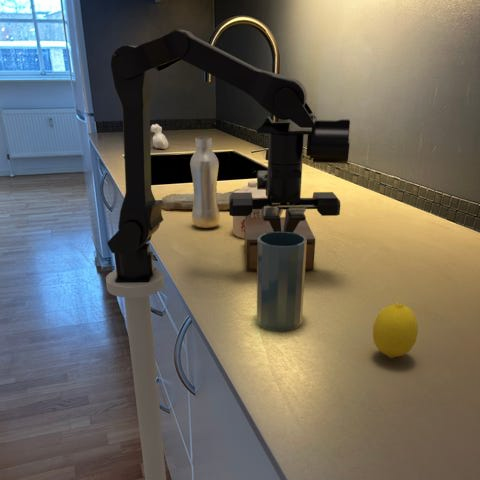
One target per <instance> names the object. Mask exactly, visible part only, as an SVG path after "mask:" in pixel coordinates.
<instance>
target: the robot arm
mask: <svg viewBox="0 0 480 480" xmlns="http://www.w3.org/2000/svg"><path fill="white" fill-rule="evenodd" d="M181 61H183V62H186V63H187V64H189V65H191V66H193V67H195V68H197V69H199V70H201V71H203V72H205V73H206V74H209V75H211V76H213V77H215V78H216V79H219V80H221V81H223V82H224V83H227V84H229V85H230V86H233V87H234V88H237V89H238V90H240V91H242V92H244V93H245V94H246V95H248V96H249V97H251V98H252V99H253V100H254V102H256V103H257V104H258V105H259V106H260V107H262V108H263V109H264V110H266V111H267V112H268V113H269V114H270V115H272V116H273V117H275V118H276V119H279V120H282V121H274V120H272V118H271V117H270V116H267V117H266V118H265V119H264V121H263V122H262V124H260V126H258V127H257V128H256V130H255V131H256V134H259V135H260V134H262V135H263V134H265V135H266V134H267V135H268V145H267V169H266V170H262V169H261V170H259V169H258V170H257V171H256V182H257V189H266V196H267V198H252V193H232V194H231V195H230V196H229V209H228V210H229V211H228V213H229V216H231V217H233V216H249V215H250V214H251V213H252V212H253V209H262V217H263V220H264V221H269V222H270V224H271V227H272V229H273V231H274V232H281V220H280V217H281V216H280V215H279V209H283V210H285V213H284V217H285V223H284V230H283V232H294V230H295V228H296V227H297V225H298V224H299V222H300V221H304V220H306V221H307V217H306V214H305V212H306V211H307V210H316V211H317V212H318V214H320V216H322V217H331V216H332V217H333V216H334V217H338V216H340V215H341V201H340V199H339V197H337V195H336V194H335V193H334V192H333V191H313V193H312V197H301V195H302V194H301V193H302V180H303V179H302V177H303V176H302V175H303V158H304V157H303V156H304V139H305V135H306V136H307V137H306V139H307V140H306V141H307V142H306V157H309V159H312V163H313V164H337V165H348V163H349V155H350V154H349V153H350V145H351V143H350V127H351V126H350V125H351V120H350V118H339V119H317V117H316V115H315V112H313V110H312V109H311V107H310V106H309V104H308V102H307V100H308V96H307V91H306V90H307V89H306V87H305V85H304V84H303V83H302V82H301V81H300V80H299V79H296V78H293V77H290V76H287V75H283V74H280V73H276V72H271V71H268V70H263V69H260V68H258V67H256V66H253V65H251V64H250V63H247V62H245V61H243V60H241V59H240V58H238V57H236V56H234V55H232V54H230V53H229V52H226V51H224V50H222V49H221V48H219V47H217V46H214V45H212V44H210V43H209V42H207V41H206V40H205V41H204V40H203V39H201V38H198V37H197V36H195V35H194V34H193V33H192V32H191V31H189V30H185V29H180V28H177V29H173V30H171V31H170V32H169V33H167V34H164V35H163V36H161V37H158V38H154V39H152V40H149V41H147V42H144V43H142V44H139V45H121V46H120V47H118V48H117V49H115V51H114V52H113V53H112V54H111V57H110V63H109V67H110V72H111V77H112V82H113V87H114V90H115V92H116V95H117V98H118V100H119V102H120V105H121V109H122V111H121V112H122V131H123V157H124V160H123V161H124V176H125V177H124V178H125V179H124V181H125V182H124V183H125V194H124V197H123V201H122V204H121V206H120V211H119V219H118V225H117V226H118V230H117V232H116V233H115V234H114V235H113V236H112V237H111V238H110V239H109V240H108V241H107V246H108V248H109V250H110V252H111V253H112V254H114V262H115V270H116V272H117V277H116V279H115V282H116V283H135V282H149V281H150V279H151V276H153V274H154V268H155V261H154V260H155V259H154V252H153V251H152V250H151V247H150V246H151V245H150V243H148V242H150V241H151V240H152V235H154V234H155V233H156V232H157V231H158V229H159V228H160V224H161V223H162V222H163V221H164V218H163V214H162V213H163V212H162V209H163V207H162V199H156V198H155V196H154V194H153V190H152V160H151V159H152V156H151V151H152V149H151V104H152V102H153V98H154V95H155V92H156V90H157V89H156V88H157V82H158V74H159V73H160V72H161V71H163V70H166V69H168V68H170V67H172V66H173V65H175V64H177V63H180V62H181ZM288 120H289V121H288ZM290 121H291V122H293V123H294V124H295V125H296V126H298V127H299V128H298V127H297V128H296V127H294V128H293V127H292V125H291V124H292V123H291V122H290ZM272 203H280V204H272ZM287 203H289V204H287Z"/></svg>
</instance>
